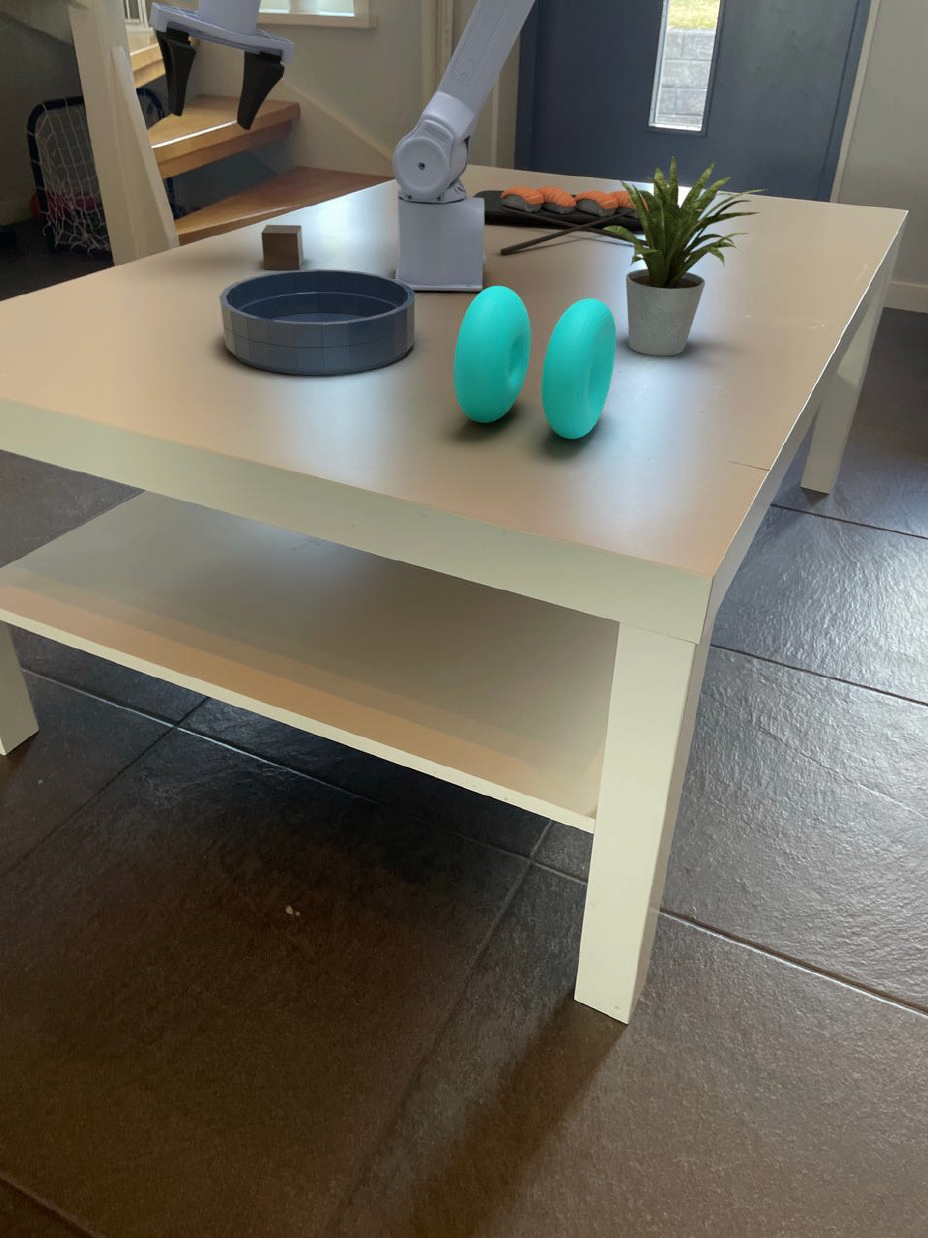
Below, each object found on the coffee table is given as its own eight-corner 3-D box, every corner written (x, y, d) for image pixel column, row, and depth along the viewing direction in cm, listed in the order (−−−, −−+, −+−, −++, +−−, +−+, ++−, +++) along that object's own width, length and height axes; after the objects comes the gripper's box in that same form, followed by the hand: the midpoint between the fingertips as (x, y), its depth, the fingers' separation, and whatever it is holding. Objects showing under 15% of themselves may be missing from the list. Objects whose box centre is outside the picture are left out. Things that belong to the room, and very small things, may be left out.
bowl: (416, 317, 97) (416, 270, 95) (412, 378, 83) (412, 325, 81) (242, 314, 97) (238, 267, 94) (208, 375, 83) (202, 322, 80)
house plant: (700, 389, 82) (734, 181, 73) (554, 357, 88) (570, 160, 79) (754, 345, 93) (790, 156, 83) (620, 318, 98) (640, 139, 89)
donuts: (494, 394, 80) (499, 269, 75) (612, 414, 77) (626, 286, 72) (446, 438, 73) (448, 302, 67) (574, 462, 70) (588, 323, 64)
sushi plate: (678, 214, 140) (681, 186, 138) (679, 266, 116) (684, 232, 114) (478, 202, 144) (479, 174, 142) (439, 250, 120) (439, 217, 118)
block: (303, 261, 114) (301, 225, 112) (299, 270, 111) (297, 233, 109) (269, 260, 114) (266, 224, 112) (264, 269, 111) (261, 232, 109)
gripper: (284, -18, 102) (257, 118, 110) (147, -60, 93) (128, 91, 101) (313, 3, 98) (283, 142, 106) (174, -39, 89) (152, 116, 97)
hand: (209, 119), depth 103 cm, fingers open, 7 cm apart
